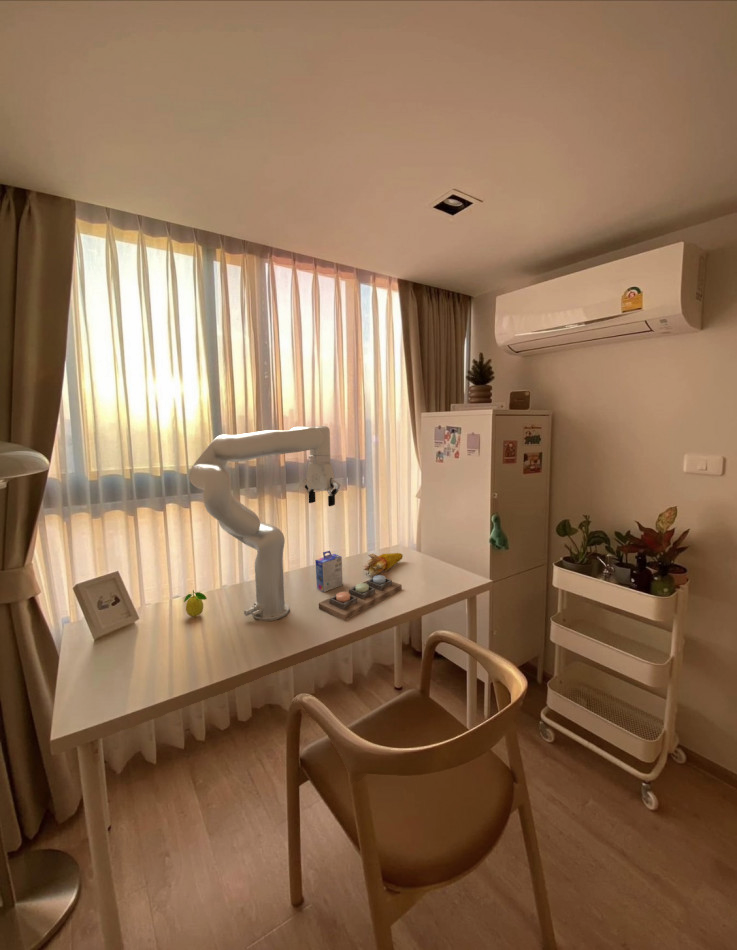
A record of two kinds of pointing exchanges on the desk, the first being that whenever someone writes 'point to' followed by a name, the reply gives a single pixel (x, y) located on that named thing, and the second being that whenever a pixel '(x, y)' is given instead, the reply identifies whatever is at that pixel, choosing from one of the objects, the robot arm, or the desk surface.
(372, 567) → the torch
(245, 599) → the desk surface
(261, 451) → the robot arm
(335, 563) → the ink cartridge box
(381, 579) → the button slate
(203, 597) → the lemon
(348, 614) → the button panel
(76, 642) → the desk surface
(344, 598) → the button terracotta
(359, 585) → the button sage
